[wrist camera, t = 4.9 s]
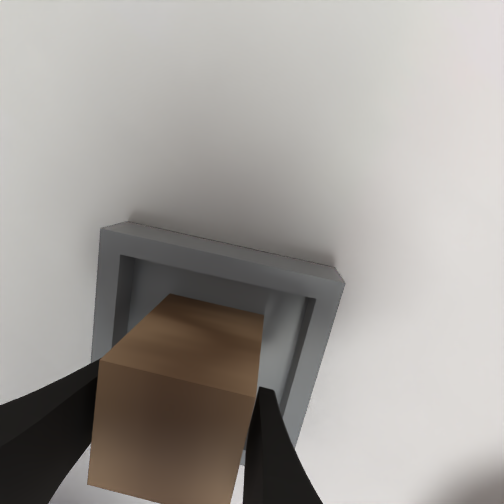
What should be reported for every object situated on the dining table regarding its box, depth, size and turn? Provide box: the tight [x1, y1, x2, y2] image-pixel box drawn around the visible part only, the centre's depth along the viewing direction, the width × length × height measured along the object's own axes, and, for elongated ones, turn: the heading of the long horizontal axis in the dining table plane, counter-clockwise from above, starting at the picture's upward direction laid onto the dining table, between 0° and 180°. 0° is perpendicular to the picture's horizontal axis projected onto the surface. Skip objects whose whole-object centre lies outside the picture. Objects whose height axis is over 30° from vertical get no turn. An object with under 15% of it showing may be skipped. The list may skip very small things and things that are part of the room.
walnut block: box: [87, 294, 264, 504], centre depth 12 cm, size 5×5×6 cm
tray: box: [91, 222, 345, 466], centre depth 15 cm, size 11×11×2 cm
